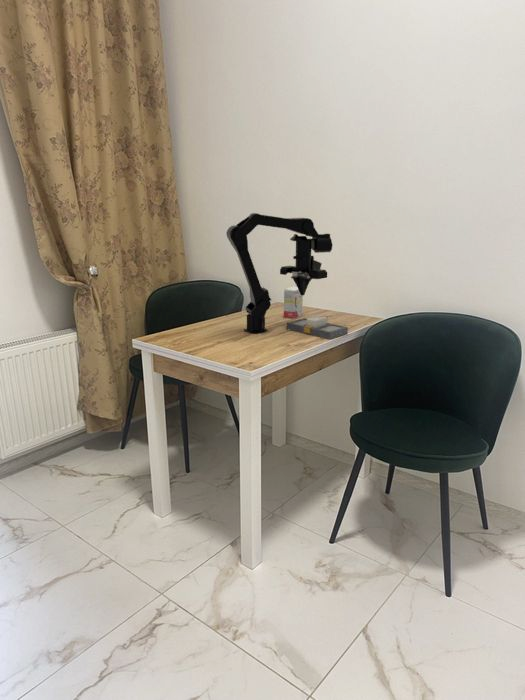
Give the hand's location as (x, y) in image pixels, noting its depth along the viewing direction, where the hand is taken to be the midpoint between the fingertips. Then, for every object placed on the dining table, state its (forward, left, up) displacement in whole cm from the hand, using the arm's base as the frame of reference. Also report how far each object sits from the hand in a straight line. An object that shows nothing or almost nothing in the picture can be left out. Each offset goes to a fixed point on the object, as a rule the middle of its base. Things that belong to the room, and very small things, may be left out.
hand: (302, 295), depth 186 cm
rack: (-1, -8, -12) cm, 15 cm away
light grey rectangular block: (-1, -8, -12) cm, 14 cm away
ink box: (+12, +15, -13) cm, 23 cm away
